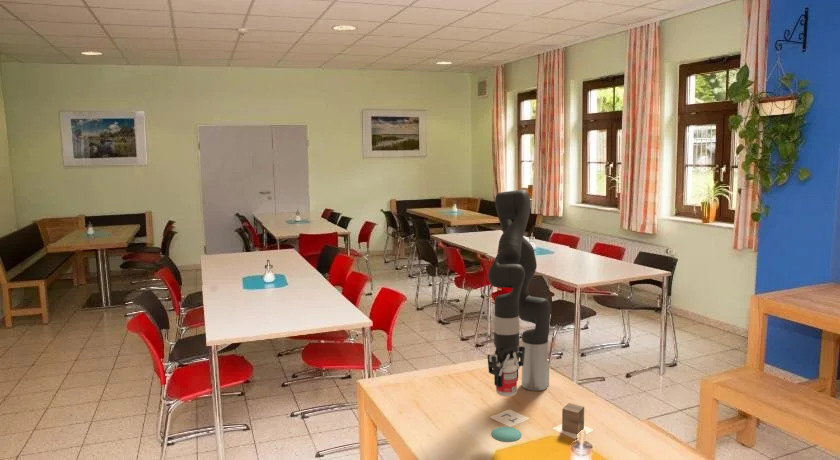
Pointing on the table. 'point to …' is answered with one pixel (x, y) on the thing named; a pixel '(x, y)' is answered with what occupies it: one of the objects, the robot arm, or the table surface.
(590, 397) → the table surface
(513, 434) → the coaster
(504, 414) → the card
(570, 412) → the walnut block
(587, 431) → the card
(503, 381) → the pill bottle
